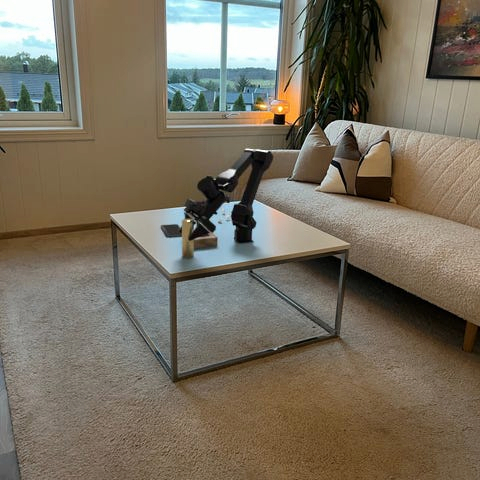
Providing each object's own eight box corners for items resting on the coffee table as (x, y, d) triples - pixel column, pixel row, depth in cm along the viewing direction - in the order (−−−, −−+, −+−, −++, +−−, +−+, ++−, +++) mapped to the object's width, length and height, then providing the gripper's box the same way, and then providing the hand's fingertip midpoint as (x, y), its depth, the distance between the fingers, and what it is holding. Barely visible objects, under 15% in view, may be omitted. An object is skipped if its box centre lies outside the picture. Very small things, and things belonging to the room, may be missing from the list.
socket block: (208, 236, 198) (208, 229, 197) (217, 245, 189) (217, 237, 188) (183, 239, 194) (183, 231, 193) (191, 248, 185) (191, 240, 184)
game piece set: (187, 213, 232) (187, 206, 230) (226, 211, 237) (226, 204, 236) (194, 225, 214) (194, 217, 213) (236, 223, 219) (236, 215, 218)
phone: (166, 235, 196) (160, 225, 209) (166, 238, 196) (160, 227, 209) (185, 234, 198) (177, 223, 211) (185, 237, 198) (177, 226, 212)
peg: (191, 253, 180) (191, 218, 175) (195, 257, 176) (195, 221, 171) (180, 254, 178) (180, 219, 173) (183, 258, 174) (183, 222, 170)
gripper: (188, 185, 178) (161, 216, 177) (208, 197, 163) (178, 230, 161) (207, 203, 184) (180, 233, 183) (228, 216, 169) (199, 249, 168)
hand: (184, 236), depth 174 cm, fingers open, 9 cm apart
